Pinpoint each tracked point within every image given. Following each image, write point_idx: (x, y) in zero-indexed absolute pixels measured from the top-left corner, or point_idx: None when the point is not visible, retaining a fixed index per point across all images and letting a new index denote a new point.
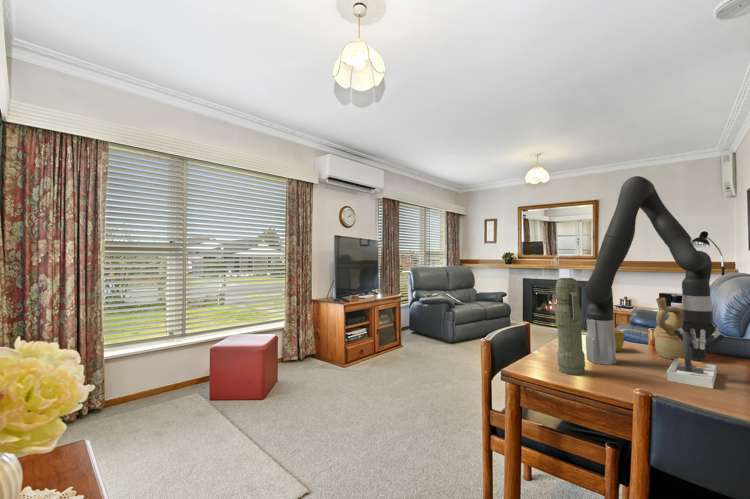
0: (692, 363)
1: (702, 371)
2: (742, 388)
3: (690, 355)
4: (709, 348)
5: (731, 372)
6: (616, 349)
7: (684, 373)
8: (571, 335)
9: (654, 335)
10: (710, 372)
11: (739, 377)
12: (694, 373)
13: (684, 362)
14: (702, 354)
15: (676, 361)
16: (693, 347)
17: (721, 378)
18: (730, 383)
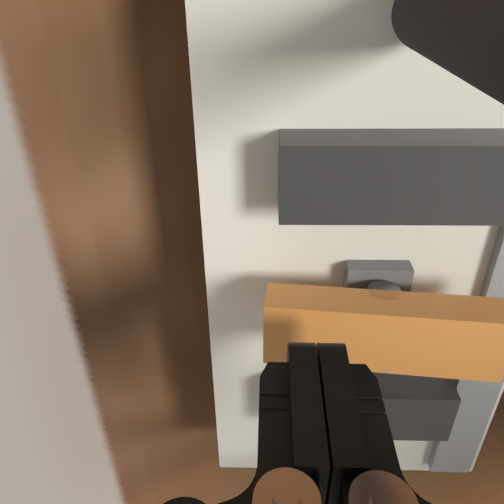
0: (376, 305)
1: (283, 137)
2: (33, 162)
3: (501, 29)
4: (189, 498)
5: (166, 472)
6: None
7: None
8: None
9: None
10: (228, 249)
11: (115, 408)
12: (356, 104)
13: (449, 304)
14: (287, 408)
15: (477, 407)
16: (409, 486)
17: (189, 332)
18: (123, 247)
